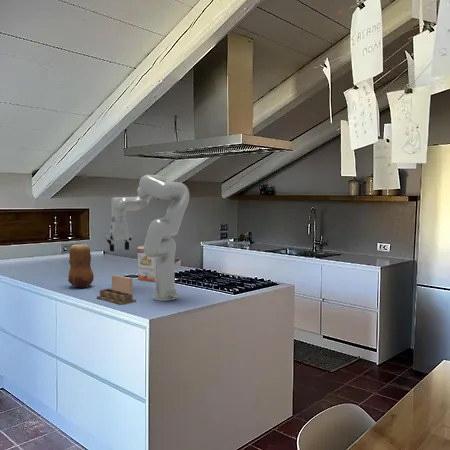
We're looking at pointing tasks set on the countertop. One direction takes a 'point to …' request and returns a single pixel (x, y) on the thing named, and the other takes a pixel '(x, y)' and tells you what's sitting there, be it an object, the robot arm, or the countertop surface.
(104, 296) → the slot rack
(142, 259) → the cracker box
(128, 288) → the clay strip
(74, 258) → the butternut squash
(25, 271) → the countertop surface
